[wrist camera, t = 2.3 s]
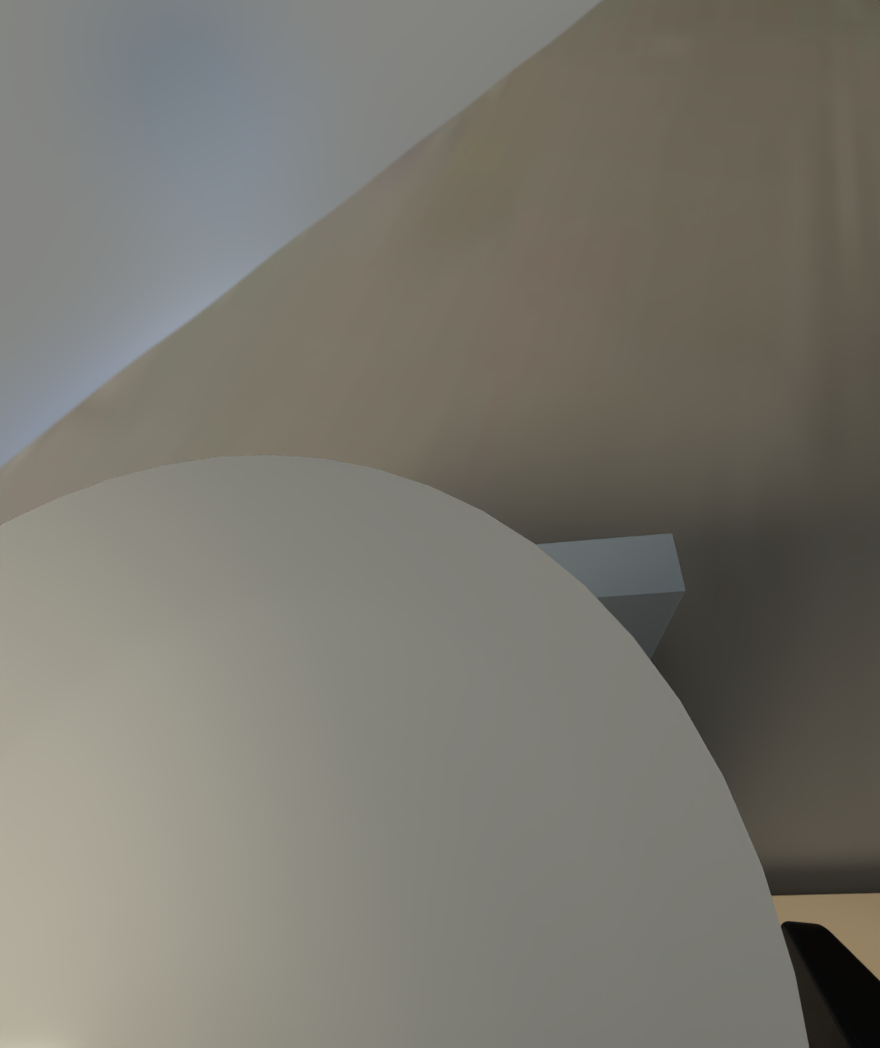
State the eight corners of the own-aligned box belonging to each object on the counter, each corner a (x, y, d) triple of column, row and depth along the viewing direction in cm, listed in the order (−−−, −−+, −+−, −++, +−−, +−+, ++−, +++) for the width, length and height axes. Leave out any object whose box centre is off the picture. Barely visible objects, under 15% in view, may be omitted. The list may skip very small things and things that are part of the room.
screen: (649, 736, 16) (703, 666, 11) (196, 759, 17) (51, 705, 12) (622, 590, 18) (658, 472, 13) (218, 620, 19) (101, 523, 14)
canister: (594, 1054, 13) (1301, 2998, 1) (336, 1055, 14) (-1159, 2341, 2) (561, 763, 16) (649, 389, 4) (348, 774, 16) (-154, 471, 4)
